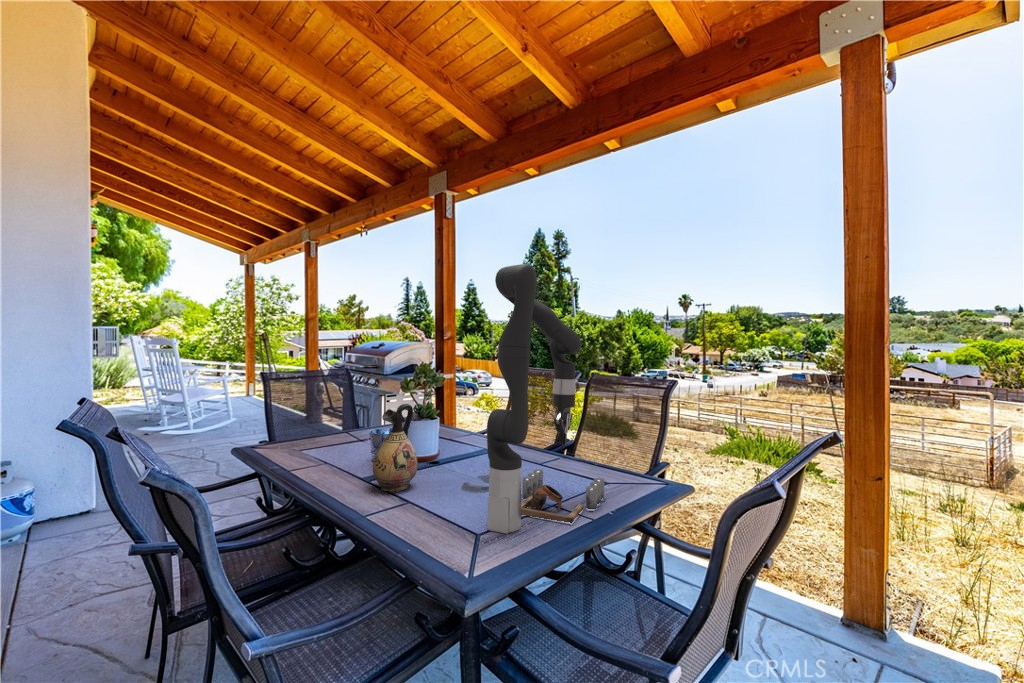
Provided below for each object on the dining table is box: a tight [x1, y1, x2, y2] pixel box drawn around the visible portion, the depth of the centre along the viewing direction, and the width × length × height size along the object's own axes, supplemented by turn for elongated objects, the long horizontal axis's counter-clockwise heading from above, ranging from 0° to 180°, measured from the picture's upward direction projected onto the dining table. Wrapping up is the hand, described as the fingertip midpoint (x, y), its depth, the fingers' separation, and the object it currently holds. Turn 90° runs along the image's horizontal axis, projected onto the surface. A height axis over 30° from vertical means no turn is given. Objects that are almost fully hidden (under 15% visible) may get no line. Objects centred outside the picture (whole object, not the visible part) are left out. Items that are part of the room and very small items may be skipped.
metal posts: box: [521, 468, 605, 509], centre depth 150 cm, size 14×26×7 cm, turn 65°
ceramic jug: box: [372, 403, 418, 493], centre depth 159 cm, size 17×15×30 cm
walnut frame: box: [521, 496, 585, 523], centre depth 138 cm, size 12×18×2 cm
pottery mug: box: [529, 484, 563, 511], centre depth 140 cm, size 12×10×8 cm
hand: (562, 444), depth 148 cm, fingers closed
